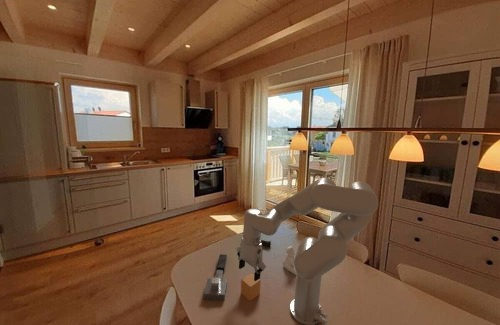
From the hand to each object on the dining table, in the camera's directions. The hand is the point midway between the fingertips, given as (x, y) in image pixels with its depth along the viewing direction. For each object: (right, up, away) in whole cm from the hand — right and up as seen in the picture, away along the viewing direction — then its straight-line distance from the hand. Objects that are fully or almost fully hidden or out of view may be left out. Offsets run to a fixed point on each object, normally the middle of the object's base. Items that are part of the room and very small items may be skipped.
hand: (249, 273), depth 94 cm
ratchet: (-15, -8, +11) cm, 20 cm away
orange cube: (+1, -10, +1) cm, 10 cm away
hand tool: (+4, -4, +40) cm, 41 cm away
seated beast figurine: (+22, -8, +19) cm, 30 cm away
